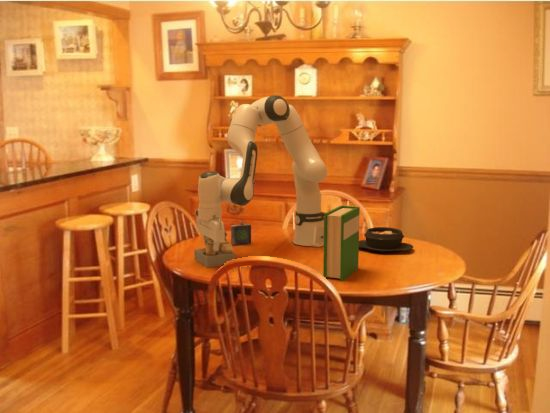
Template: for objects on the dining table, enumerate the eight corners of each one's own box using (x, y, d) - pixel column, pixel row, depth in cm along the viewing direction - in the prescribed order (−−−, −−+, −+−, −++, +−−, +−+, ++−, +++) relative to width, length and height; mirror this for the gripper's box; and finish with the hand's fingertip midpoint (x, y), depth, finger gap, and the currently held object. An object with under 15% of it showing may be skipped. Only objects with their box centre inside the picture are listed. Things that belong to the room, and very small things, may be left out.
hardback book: (342, 281, 206) (343, 215, 201) (323, 278, 209) (324, 213, 204) (358, 268, 221) (359, 207, 217) (339, 266, 224) (341, 205, 220)
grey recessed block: (221, 255, 240) (221, 246, 240) (235, 263, 228) (235, 253, 228) (194, 259, 235) (194, 249, 234) (207, 267, 223) (207, 257, 222)
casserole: (350, 252, 245) (350, 233, 243) (359, 242, 262) (359, 224, 260) (410, 257, 236) (411, 237, 235) (415, 246, 254) (416, 228, 252)
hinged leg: (215, 247, 238) (215, 240, 237) (222, 246, 239) (222, 239, 238) (225, 253, 228) (225, 246, 227) (232, 252, 229) (232, 245, 228)
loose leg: (213, 261, 231) (213, 242, 230) (217, 263, 228) (216, 244, 226) (204, 262, 229) (204, 243, 228) (208, 265, 226) (207, 245, 225)
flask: (231, 246, 256) (231, 222, 254) (230, 244, 259) (229, 221, 257) (251, 244, 259) (251, 220, 257) (250, 242, 262) (249, 219, 260)
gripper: (228, 217, 217) (229, 252, 220) (208, 208, 235) (209, 241, 238) (212, 219, 215) (214, 255, 217) (193, 210, 232) (194, 243, 235)
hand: (211, 247), depth 228 cm, fingers open, 8 cm apart
